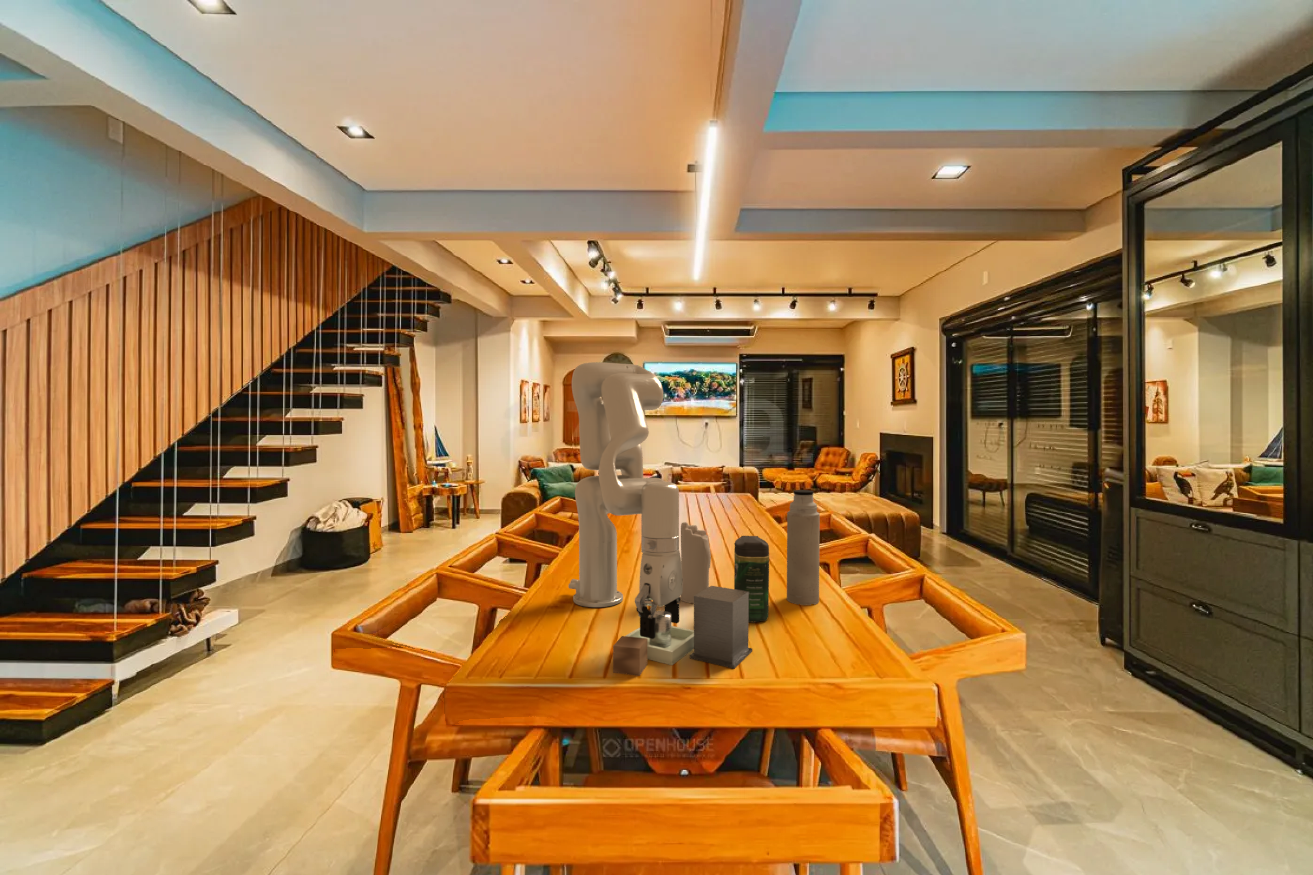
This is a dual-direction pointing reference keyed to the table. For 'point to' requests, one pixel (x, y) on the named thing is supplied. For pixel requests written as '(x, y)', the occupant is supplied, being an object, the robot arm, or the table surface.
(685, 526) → the grey jagged upright block
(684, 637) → the tray
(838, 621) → the table surface
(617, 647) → the walnut block
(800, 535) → the thermos bottle
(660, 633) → the grey cylinder
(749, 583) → the coffee jar
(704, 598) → the block
